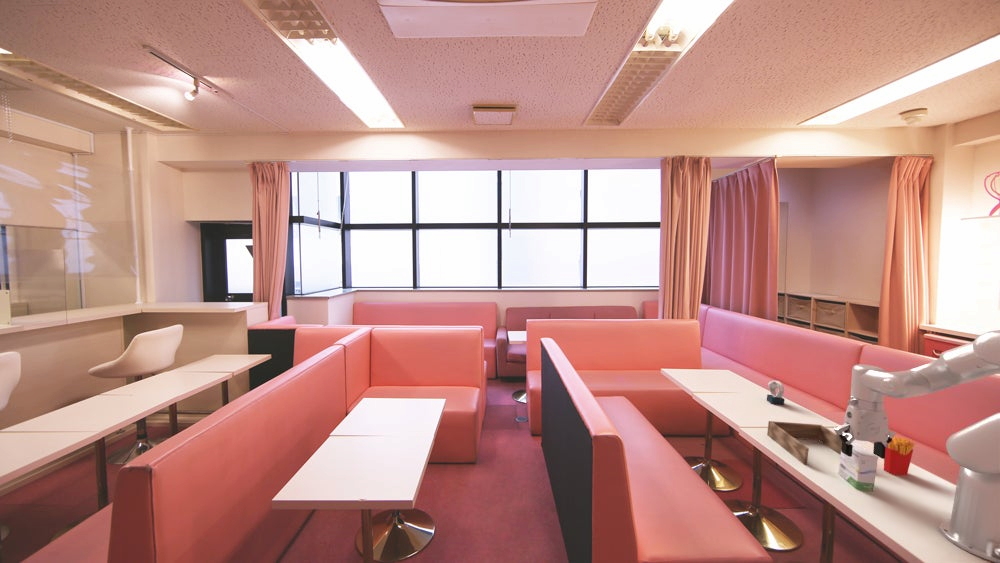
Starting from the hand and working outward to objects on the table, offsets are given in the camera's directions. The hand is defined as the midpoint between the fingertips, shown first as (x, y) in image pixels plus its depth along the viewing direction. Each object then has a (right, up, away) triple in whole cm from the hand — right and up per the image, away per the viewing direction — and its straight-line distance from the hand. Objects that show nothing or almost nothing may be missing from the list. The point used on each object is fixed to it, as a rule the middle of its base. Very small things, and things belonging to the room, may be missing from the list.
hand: (862, 455), depth 116 cm
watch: (+20, -5, +63) cm, 67 cm away
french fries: (+20, -10, +8) cm, 24 cm away
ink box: (-1, -10, +2) cm, 10 cm away
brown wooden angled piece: (+1, -8, +20) cm, 21 cm away
